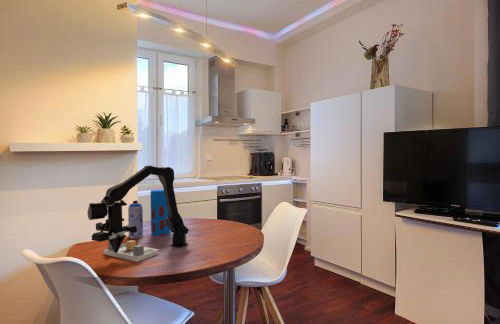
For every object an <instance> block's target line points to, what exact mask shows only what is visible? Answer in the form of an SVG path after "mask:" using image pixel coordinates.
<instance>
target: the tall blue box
mask: <svg viewBox="0 0 500 324" xmlns="http://www.w3.org/2000/svg"><path fill="white" fill-rule="evenodd" d="M167 217H168V209H167V204H166V199H165V194H164V189H153V190H150V232H151V236H153V237H162V236H168V235H170V234H171V230H170V229H169V228H168V226H166V221H165V218H167Z"/></svg>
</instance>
